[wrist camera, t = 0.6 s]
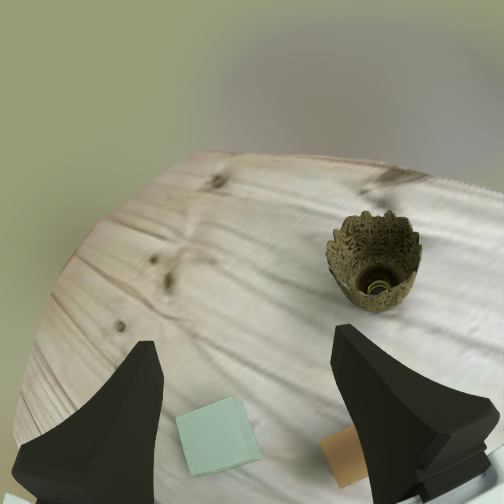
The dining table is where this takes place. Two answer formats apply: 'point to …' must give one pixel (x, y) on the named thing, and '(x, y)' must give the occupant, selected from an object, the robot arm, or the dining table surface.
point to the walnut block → (345, 456)
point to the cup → (375, 259)
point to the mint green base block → (217, 437)
